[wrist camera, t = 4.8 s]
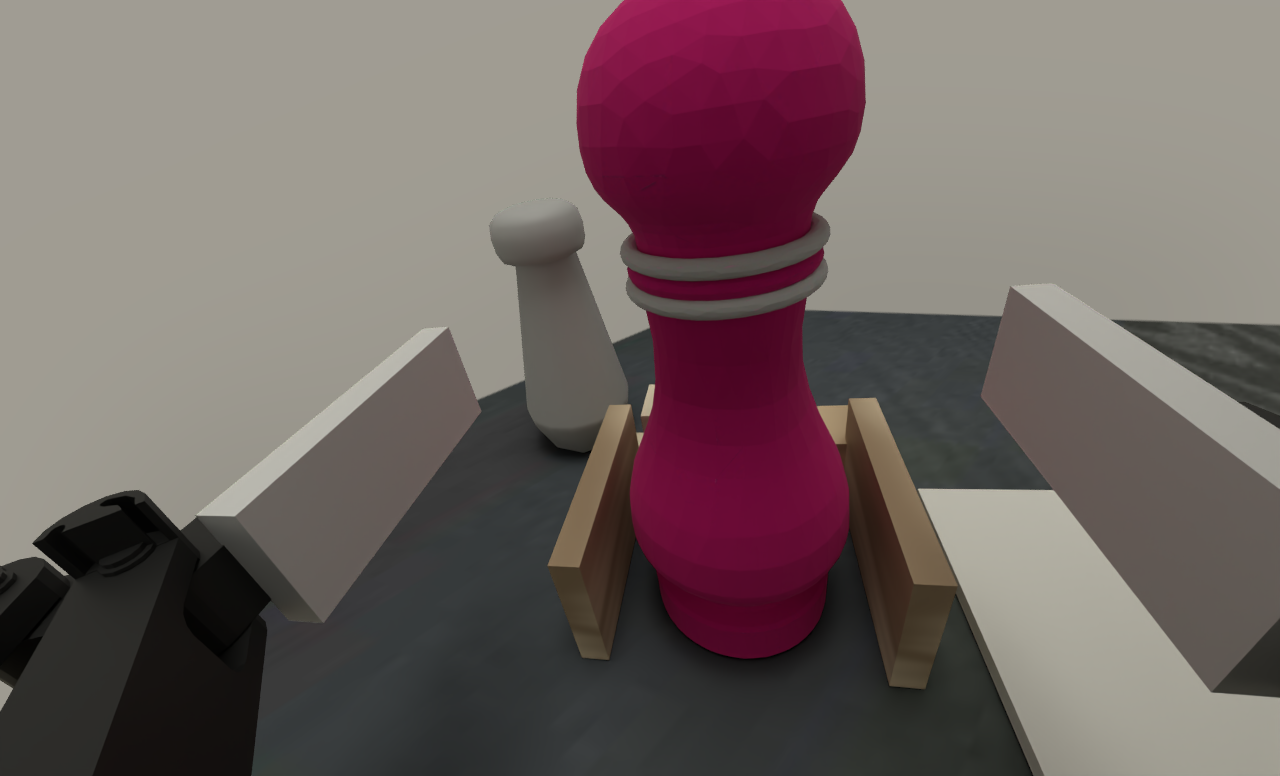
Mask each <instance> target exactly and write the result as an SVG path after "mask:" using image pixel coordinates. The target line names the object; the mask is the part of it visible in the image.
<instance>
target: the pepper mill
mask: <svg viewBox="0 0 1280 776" xmlns="http://www.w3.org/2000/svg"><path fill="white" fill-rule="evenodd" d="M865 103H866V100H865V66H864V57H863V53H862V49H861V45H860V41H859V37H858V33H857V29H856V26H855V25H854V23H853V21H852V19H851V17H850V15H849V13H848V12H847V10H846V8H845V6H844V4H843V2H842V1H841V0H624V1H623V2H622V3H621V4H620V5H619V6H618V8H616V9H615V11H614V12H613V13H612V14H611V15H610V16H609V17H608V18H607V20H606V21H605V22H604V23H603V24H602V25H601V26H600V28H599V30H598V32H597V34H596V36H595V38H594V40H593V42H592V44H591V46H590V48H589V50H588V52H587V54H586V56H585V59H584V63H583V68H582V71H581V76H580V80H579V84H578V88H577V131H578V140H579V148H580V153H581V157H582V160H583V164H584V168H585V171H586V174H587V176H588V178H589V179H590V181H591V183H592V185H593V187H594V189H595V190H596V191H597V193H598V194H599V195H600V196H601V198H602V199H603V200H604V201H605V202H606V203H607V204H608V205H609V206H610V207H612V208H613V209H614V210H615V211H616V212H617V213H618V214H620V215H621V216H622V218H623V219H624V220H625V221H626V222H627V224H628V225H629V227H630V229H631V230H632V232H633V233H632V234H630V235H629V236H628V237H627V238H626V240H625V241H624V242H623V244H622V246H621V251H620V255H621V258H622V260H623V262H624V264H625V265H626V266H628V268H627V270H628V275H629V277H628V280H627V282H626V291H627V295H628V296H629V298H630V299H631V300H632V301H633V302H634V303H635V304H636V305H637V306H639V307H640V308H642V309H644V310H646V313H647V316H648V321H649V325H650V330H651V334H652V338H653V346H654V362H655V377H656V381H655V389H654V397H653V406H652V409H651V413H650V416H649V420H648V423H647V426H646V429H645V432H644V434H643V437H642V440H641V443H640V445H639V448H638V451H637V454H636V457H635V459H634V465H633V471H632V478H631V485H630V504H631V515H632V522H633V527H634V532H635V536H636V538H637V541H638V543H639V545H640V547H641V549H642V551H643V553H644V555H645V556H646V558H647V560H648V561H649V562H650V563H651V564H652V565H653V567H654V568H655V569H656V571H657V577H658V582H659V587H660V592H661V596H662V600H663V603H664V606H665V608H666V610H667V612H668V614H669V616H670V617H671V619H672V621H673V622H674V623H675V624H676V626H677V627H678V628H679V629H680V630H681V631H682V632H683V633H684V634H685V635H686V636H687V637H689V638H690V639H691V640H693V641H694V642H695V643H697V644H699V645H701V646H702V647H704V648H706V649H708V650H710V651H713V652H715V653H719V654H722V655H726V656H730V657H736V658H743V659H746V658H761V657H769V656H772V655H775V654H778V653H781V652H783V651H786V650H788V649H790V648H792V647H793V646H795V645H797V644H798V643H800V642H801V641H802V640H803V639H804V638H806V637H807V636H808V634H809V633H810V632H811V631H812V630H813V629H814V627H815V626H816V624H817V623H818V621H819V619H820V617H821V614H822V611H823V608H824V604H825V599H826V589H827V579H828V571H829V570H830V569H831V568H832V566H833V565H834V564H835V563H836V561H837V560H838V559H839V557H840V554H841V552H842V550H843V548H844V545H845V543H846V539H847V535H848V532H849V487H848V482H847V478H846V474H845V471H844V467H843V463H842V460H841V456H840V454H839V451H838V449H837V446H836V444H835V442H834V440H833V438H832V436H831V434H830V432H829V430H828V429H827V427H826V425H825V423H824V421H823V419H822V417H821V415H820V413H819V411H818V408H817V406H816V403H815V401H814V398H813V396H812V393H811V391H810V388H809V384H808V380H807V376H806V372H805V367H804V363H803V349H802V324H803V318H804V311H805V305H806V299H807V297H808V296H810V295H811V294H812V293H813V292H815V291H816V290H817V289H819V288H820V287H821V285H822V284H823V282H824V281H825V279H826V277H827V273H828V266H827V263H826V260H825V259H824V258H823V256H824V250H823V246H824V245H825V244H826V243H827V242H828V239H829V236H830V226H829V224H828V222H827V221H826V220H825V219H824V218H823V217H822V216H820V215H818V214H816V213H814V212H813V211H814V209H815V206H816V203H817V201H818V199H819V198H820V196H821V195H822V193H823V192H824V191H825V189H826V188H827V187H828V186H829V185H830V183H831V182H832V180H834V178H835V177H836V176H837V175H838V173H839V172H840V170H841V169H842V167H843V166H844V165H845V163H846V161H847V160H848V159H849V157H850V156H851V154H852V153H853V151H854V148H855V145H856V142H857V140H858V137H859V134H860V131H861V126H862V120H863V115H864V109H865Z"/></svg>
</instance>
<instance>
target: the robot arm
mask: <svg viewBox="0 0 1280 776" xmlns="http://www.w3.org/2000/svg"><path fill="white" fill-rule="evenodd" d="M981 397H982V399H983V400H984V401H985V402H986V404H987V405H988V406H989V408H990V409H991V410H992V411H993V413H994V414H995V415H996V417H997V418H998V419H999V420H1000V422H1001V423H1002V424H1003V426H1004V427H1005V428H1006V429H1007V431H1008V432H1009V433H1010V435H1011V436H1012V437H1013V438H1014V440H1015V441H1016V442H1017V444H1018V445H1019V446H1020V447H1021V449H1022V450H1023V451H1024V453H1025V454H1026V455H1027V456H1028V458H1029V459H1030V460H1031V462H1032V463H1033V464H1034V465H1035V467H1036V468H1037V469H1038V471H1039V472H1040V473H1041V474H1042V476H1043V477H1044V478H1045V480H1046V481H1047V482H1048V483H1049V485H1050V486H1051V487H1052V489H1053V490H1054V491H1055V492H1056V494H1057V495H1058V496H1059V498H1060V499H1061V500H1062V501H1063V503H1064V504H1065V505H1066V507H1067V508H1068V509H1069V510H1070V512H1071V513H1072V514H1073V516H1074V517H1075V518H1076V519H1077V521H1078V522H1079V523H1080V525H1081V526H1082V527H1083V528H1084V530H1085V531H1086V532H1087V534H1088V535H1089V536H1090V537H1091V539H1092V540H1093V541H1094V543H1095V544H1096V545H1097V546H1098V548H1099V549H1100V550H1101V552H1102V553H1103V554H1104V555H1105V557H1106V558H1107V559H1108V561H1109V562H1110V563H1111V564H1112V566H1113V567H1114V568H1115V570H1116V571H1117V572H1118V573H1119V575H1120V576H1121V577H1122V579H1123V580H1124V581H1125V582H1126V584H1127V585H1128V586H1129V588H1130V589H1131V590H1132V591H1133V593H1134V594H1135V595H1136V597H1137V598H1138V599H1139V600H1140V602H1141V603H1142V604H1143V606H1144V607H1145V608H1146V609H1147V611H1148V612H1149V613H1150V615H1151V616H1152V617H1153V618H1154V620H1155V621H1156V622H1157V624H1158V625H1159V626H1160V627H1161V629H1162V630H1163V631H1164V633H1165V634H1166V635H1167V636H1168V638H1169V639H1170V640H1171V642H1172V643H1173V644H1174V645H1175V647H1176V648H1177V649H1178V651H1179V652H1180V653H1181V654H1182V656H1183V657H1184V658H1185V660H1186V661H1187V662H1188V663H1189V665H1190V666H1191V667H1192V669H1193V670H1194V671H1195V672H1196V674H1197V675H1198V676H1199V678H1200V679H1201V680H1202V681H1203V683H1204V684H1205V685H1206V687H1207V688H1208V689H1209V690H1210V692H1212V693H1225V694H1237V695H1250V696H1263V697H1276V698H1280V416H1279V415H1276V414H1274V413H1271V412H1269V411H1266V410H1264V409H1261V408H1259V407H1256V406H1254V405H1251V404H1249V403H1246V402H1237V401H1235V400H1234V399H1232V398H1230V397H1229V396H1227V395H1226V394H1224V393H1223V392H1221V391H1220V390H1218V389H1216V388H1215V387H1213V386H1212V385H1210V384H1209V383H1207V382H1206V381H1204V380H1203V379H1201V378H1199V377H1198V376H1196V375H1195V374H1193V373H1192V372H1190V371H1189V370H1187V369H1185V368H1184V367H1182V366H1181V365H1179V364H1178V363H1176V362H1175V361H1173V360H1172V359H1170V358H1168V357H1167V356H1165V355H1164V354H1162V353H1161V352H1159V351H1158V350H1156V349H1154V348H1153V347H1151V346H1150V345H1148V344H1147V343H1145V342H1144V341H1142V340H1141V339H1139V338H1137V337H1136V336H1134V335H1133V334H1131V333H1130V332H1128V331H1127V330H1125V329H1123V328H1122V327H1120V326H1119V325H1117V324H1116V323H1114V322H1113V321H1111V320H1109V319H1108V318H1106V317H1105V316H1103V315H1101V314H1100V313H1099V312H1097V311H1096V310H1094V309H1092V308H1091V307H1089V306H1088V305H1086V304H1085V303H1083V302H1081V301H1080V300H1078V299H1077V298H1075V297H1074V296H1072V295H1071V294H1069V293H1067V292H1066V291H1065V290H1063V289H1061V288H1060V287H1058V286H1057V285H1055V284H1054V283H1047V284H1033V285H1019V286H1010V290H1009V293H1008V297H1007V301H1006V304H1005V308H1004V312H1003V316H1002V319H1001V323H1000V327H999V330H998V334H997V338H996V342H995V345H994V349H993V353H992V356H991V360H990V364H989V368H988V371H987V375H986V379H985V382H984V386H983V390H982V394H981ZM480 412H481V410H480V407H479V404H478V402H477V399H476V397H475V394H474V392H473V389H472V386H471V384H470V381H469V379H468V376H467V374H466V371H465V368H464V366H463V363H462V361H461V358H460V355H459V353H458V351H457V348H456V345H455V343H454V340H453V338H452V335H451V332H450V330H449V327H441V328H427V329H422V330H421V331H420V332H418V333H417V334H416V335H415V336H414V337H412V338H411V339H410V340H409V341H408V342H406V343H405V344H404V345H403V346H401V347H400V348H399V349H398V350H397V351H395V352H394V353H393V354H392V355H391V356H389V357H388V358H387V359H386V360H384V361H383V362H382V363H381V364H379V365H378V366H377V367H376V368H375V369H373V370H372V371H371V372H370V373H369V374H367V375H366V376H365V377H364V378H362V379H361V380H360V381H359V382H357V383H356V384H355V385H354V386H353V387H352V388H350V389H349V390H348V391H347V392H345V393H344V394H343V395H342V396H340V397H339V398H338V399H337V400H336V401H334V402H333V403H332V404H331V405H329V406H328V407H327V408H326V409H325V410H323V411H322V412H321V413H320V414H319V415H317V416H316V417H315V418H314V419H312V420H311V421H310V422H309V423H307V424H306V425H305V426H304V427H303V428H301V429H300V430H299V431H298V432H296V433H295V434H294V435H293V436H292V437H290V438H289V439H288V440H287V441H286V442H284V443H283V444H282V445H281V446H279V448H277V449H276V450H275V451H273V452H272V453H271V454H270V455H269V456H267V457H266V458H265V459H264V460H262V461H261V462H260V463H259V464H258V465H256V466H255V467H254V468H253V469H251V470H250V471H249V472H248V473H246V474H245V475H244V476H243V477H242V478H240V479H239V480H238V481H237V482H236V483H234V484H233V485H232V486H231V487H230V488H228V489H227V490H226V491H225V492H223V493H222V494H221V495H220V496H218V497H217V498H216V499H215V500H214V501H212V502H211V503H210V504H209V505H208V506H206V507H205V508H204V509H203V510H201V511H200V512H199V513H198V514H196V515H195V516H196V517H197V518H195V519H194V520H193V521H192V522H191V523H189V524H188V525H187V526H186V527H184V528H183V529H182V530H181V531H180V530H179V529H178V528H177V527H176V526H175V525H174V524H173V523H172V522H171V521H170V519H169V518H167V517H166V515H165V514H164V513H163V512H162V511H161V510H160V509H159V508H158V507H157V506H156V505H155V503H153V501H152V500H151V499H150V498H149V497H148V496H147V495H146V494H145V493H143V492H141V491H139V490H134V491H124V492H120V493H117V494H113V495H110V496H106V497H104V498H101V499H99V500H97V501H94V502H92V503H90V504H88V505H85V506H83V507H81V508H80V509H78V510H76V511H74V512H72V513H71V514H69V515H67V516H65V517H63V518H62V519H60V520H59V521H58V522H56V523H55V524H53V525H52V526H51V527H49V528H48V529H46V530H45V531H44V532H43V533H42V534H41V535H40V536H39V537H38V538H37V539H36V540H35V541H34V542H33V545H35V546H36V547H37V548H38V549H39V550H41V551H42V552H43V553H44V554H45V555H46V556H48V557H49V558H50V559H51V560H52V561H54V562H55V563H56V564H57V565H58V566H60V567H61V568H62V569H63V570H64V571H66V572H67V573H68V574H69V575H66V576H63V575H62V574H61V573H60V572H59V571H57V570H56V569H55V568H54V567H53V566H51V565H50V564H49V563H48V562H46V561H45V560H44V559H41V558H37V557H31V558H26V559H20V560H17V561H15V562H12V563H9V564H6V565H4V566H0V680H1V681H2V682H4V683H5V684H7V685H9V686H10V687H12V688H13V690H12V692H11V694H10V695H9V697H8V699H7V701H6V703H5V704H4V706H3V708H2V710H1V711H0V776H251V773H252V764H253V755H254V746H255V737H256V728H257V719H258V710H259V700H260V691H261V682H262V673H263V664H264V655H265V646H266V637H267V627H266V622H265V621H264V620H263V619H262V618H261V617H260V616H259V615H258V614H259V613H260V612H261V611H262V610H263V609H264V607H265V606H266V605H267V604H268V603H269V602H270V601H272V602H273V603H274V604H275V606H276V607H277V608H278V609H279V610H280V611H281V612H282V613H283V615H284V616H285V617H286V618H287V619H288V620H290V621H303V622H316V623H324V622H325V620H326V619H327V618H328V616H329V615H330V614H331V612H332V611H333V610H334V608H335V607H336V606H337V604H338V603H339V602H340V600H341V599H342V598H343V596H344V595H345V594H346V592H347V591H348V589H349V588H350V587H351V585H352V584H353V583H354V581H355V580H356V579H357V577H358V576H359V575H360V573H361V572H362V571H363V569H364V568H365V567H366V565H367V564H368V563H369V561H370V560H371V559H372V557H373V556H374V555H375V553H376V552H377V551H378V549H379V548H380V547H381V545H382V544H383V543H384V541H385V540H386V539H387V537H388V536H389V535H390V533H391V532H392V530H393V529H394V528H395V526H396V525H397V524H398V522H399V521H400V520H401V518H402V517H403V516H404V514H405V513H406V512H407V510H408V509H409V508H410V506H411V505H412V504H413V502H414V501H415V500H416V498H417V497H418V496H419V494H420V493H421V492H422V490H423V489H424V488H425V486H426V485H427V484H428V482H429V481H430V480H431V478H432V477H433V476H434V474H435V473H436V471H437V470H438V469H439V467H440V466H441V465H442V463H443V462H444V461H445V459H446V458H447V457H448V455H449V454H450V453H451V451H452V450H453V449H454V447H455V446H456V445H457V443H458V442H459V441H460V439H461V438H462V437H463V435H464V434H465V433H466V431H467V430H468V429H469V427H470V426H471V425H472V423H473V422H474V421H475V419H476V418H477V416H478V415H479V414H480Z"/></svg>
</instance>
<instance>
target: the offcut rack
mask: <svg viewBox="0 0 1280 776" xmlns="http://www.w3.org/2000/svg"><path fill="white" fill-rule="evenodd" d="M654 389H655V385H649V388H648V392H647V395H646V399H645V402H644V406H643V410H642V413H641V421H642V426H643V432H645V429H646V426H647V423H648V420H649V416H650V413H651V409H652V406H653V397H654ZM817 408H818V411H819V413H820V415H821V417H822V419H823V421H824V423H825V425H826V427H827V429H828V430H829V432H830V434H831V436H832V438H833V440H834V442H835V444H836V446H837V449H838V451H839V454H840V456H841V460H842V463H843V467H844V471H845V474H846V478H847V482H848V487H849V528H850V532H851V536H852V540H853V544H854V548H855V552H856V556H857V560H858V564H859V568H860V572H861V576H862V580H863V584H864V588H865V592H866V596H867V600H868V604H869V608H870V612H871V616H872V620H873V623H874V627H875V631H876V635H877V639H878V643H879V647H880V651H881V655H882V659H883V663H884V667H885V671H886V675H887V679H888V683H889V686H894V687H905V688H916V689H925V688H926V685H927V681H928V678H929V675H930V672H931V669H932V666H933V663H934V659H935V656H936V653H937V650H938V647H939V644H940V641H941V637H942V634H943V631H944V628H945V625H946V622H947V619H948V616H949V612H950V609H951V606H952V603H953V600H954V597H955V594H956V590H957V587H958V585H957V583H956V581H955V579H954V576H953V574H952V572H951V569H950V567H949V565H948V563H947V560H946V558H945V556H944V553H943V551H942V549H941V546H940V544H939V542H938V540H937V537H936V535H935V533H934V530H933V528H932V526H931V523H930V521H929V519H928V517H927V514H926V512H925V510H924V507H923V505H922V503H921V501H920V498H919V496H918V494H917V491H916V489H915V487H914V484H913V482H912V480H911V478H910V475H909V473H908V471H907V468H906V466H905V464H904V462H903V459H902V457H901V455H900V452H899V450H898V448H897V445H896V443H895V441H894V439H893V436H892V434H891V432H890V429H889V427H888V425H887V423H886V420H885V418H884V416H883V413H882V411H881V409H880V406H879V404H878V402H877V400H876V398H855V399H849V402H848V405H844V406H817ZM643 434H644V433H636V429H635V424H634V418H633V413H632V407H631V405H609V407H608V409H607V412H606V415H605V417H604V420H603V423H602V425H601V428H600V430H599V433H598V436H597V438H596V441H595V443H594V446H593V449H592V451H591V454H590V456H589V459H588V462H587V464H586V467H585V470H584V472H583V475H582V477H581V480H580V483H579V485H578V488H577V490H576V493H575V496H574V498H573V501H572V503H571V506H570V509H569V511H568V514H567V516H566V519H565V522H564V524H563V527H562V530H561V532H560V535H559V537H558V540H557V543H556V545H555V548H554V550H553V553H552V556H551V558H550V561H549V563H548V568H549V571H550V574H551V576H552V579H553V582H554V584H555V587H556V590H557V592H558V595H559V598H560V600H561V603H562V606H563V608H564V611H565V614H566V616H567V619H568V622H569V624H570V627H571V630H572V632H573V635H574V638H575V640H576V643H577V646H578V648H579V651H580V654H581V656H582V658H591V659H602V660H609V659H610V654H611V649H612V645H613V640H614V635H615V631H616V626H617V622H618V617H619V612H620V608H621V603H622V598H623V594H624V589H625V584H626V580H627V575H628V571H629V566H630V561H631V557H632V552H633V547H634V543H635V538H636V536H635V532H634V527H633V522H632V515H631V504H630V485H631V478H632V471H633V465H634V459H635V457H636V454H637V451H638V448H639V445H640V443H641V440H642V437H643Z"/></svg>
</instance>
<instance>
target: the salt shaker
mask: <svg viewBox="0 0 1280 776" xmlns="http://www.w3.org/2000/svg"><path fill="white" fill-rule="evenodd" d="M489 227H490V235H491V241H492V244H493V246H494V249H495V252H496V254H497V255H498V256H499V258H500V259H501V261H502V262H503V263H504V264H507V265H512V266H516V274H517V286H518V298H519V310H520V321H521V322H520V323H521V334H522V348H523V359H524V372H525V385H526V397H527V409H528V411H529V413H530V415H531V417H532V419H533V421H534V423H535V425H536V426H537V428H538V429H539V430H540V431H541V432H542V433H543V434H544V435H545V436H547V437H548V438H549V439H550V440H551V441H552V442H553V443H554V444H555V445H556V446H557V447H558V448H563V449H568V450H573V451H578V452H582V453H585V452H587V451H590V450H592V449H593V446H594V443H595V441H596V438H597V436H598V433H599V430H600V428H601V425H602V423H603V420H604V417H605V415H606V412H607V409H608V407H609V405H628V383H627V381H626V378H625V376H624V373H623V371H622V368H621V365H620V363H619V360H618V358H617V355H616V353H615V350H614V348H613V345H612V342H611V340H610V337H609V335H608V332H607V330H606V327H605V325H604V322H603V319H602V317H601V314H600V312H599V309H598V307H597V304H596V302H595V299H594V296H593V294H592V291H591V289H590V286H589V284H588V281H587V279H586V276H585V274H584V271H583V269H582V266H581V264H580V261H579V258H578V256H577V253H576V251H578V250H579V249H581V248H582V247H583V244H584V239H585V234H584V227H583V221H582V219H581V216H580V213H579V211H578V208H577V207H576V206H574V205H573V204H572V203H571V202H569V201H567V200H563V199H557V198H546V199H537V200H532V201H527V202H523V203H519V204H515V205H513V206H510V207H508V208H506V209H504V210H502V211H500V212H498V213H497V214H496V215H495V216H494V218H493V219H492V221H491V223H490V225H489Z"/></svg>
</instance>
